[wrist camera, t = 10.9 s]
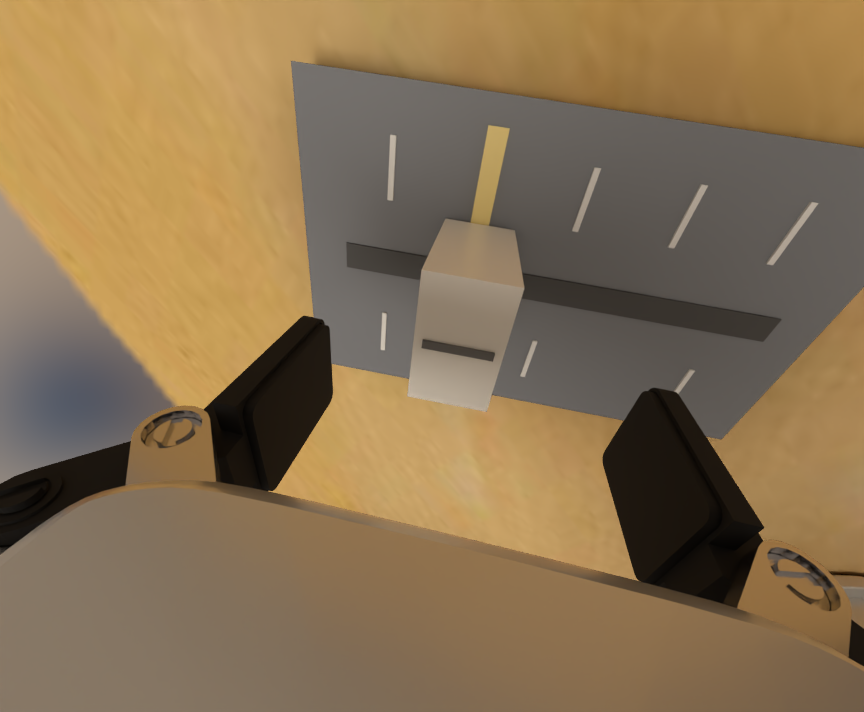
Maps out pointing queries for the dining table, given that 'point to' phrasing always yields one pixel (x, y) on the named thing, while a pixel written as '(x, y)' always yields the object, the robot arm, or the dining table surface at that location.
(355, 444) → the dining table surface
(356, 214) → the console board
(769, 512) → the dining table surface
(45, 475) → the robot arm
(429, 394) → the fader cap
